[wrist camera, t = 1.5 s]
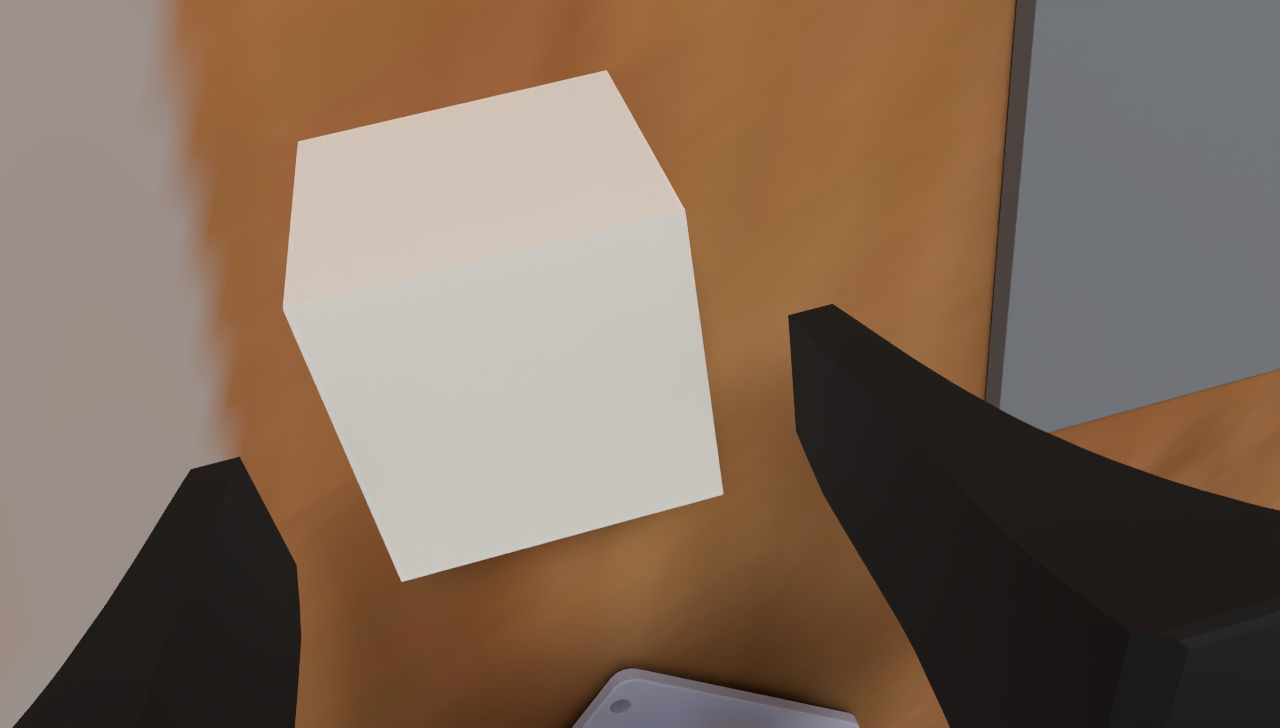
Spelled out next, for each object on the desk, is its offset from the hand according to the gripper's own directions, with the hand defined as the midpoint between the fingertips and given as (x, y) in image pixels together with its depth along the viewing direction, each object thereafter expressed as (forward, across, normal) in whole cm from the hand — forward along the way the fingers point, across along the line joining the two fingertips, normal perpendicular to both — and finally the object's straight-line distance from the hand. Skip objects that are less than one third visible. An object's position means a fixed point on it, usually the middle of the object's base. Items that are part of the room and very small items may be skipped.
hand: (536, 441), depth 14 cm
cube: (+6, 0, 0) cm, 6 cm away
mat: (+6, -15, +2) cm, 16 cm away
